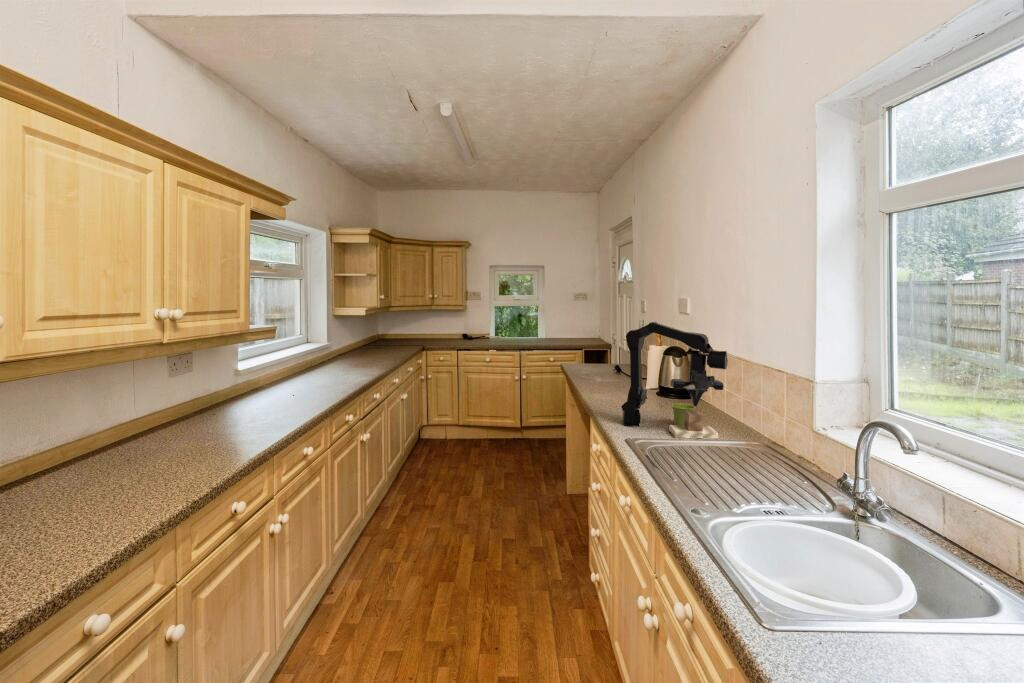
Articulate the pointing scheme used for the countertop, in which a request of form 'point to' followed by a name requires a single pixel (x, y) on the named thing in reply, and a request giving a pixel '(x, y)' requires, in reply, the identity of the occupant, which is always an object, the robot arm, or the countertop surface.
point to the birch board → (692, 432)
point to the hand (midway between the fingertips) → (695, 406)
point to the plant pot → (681, 412)
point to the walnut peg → (693, 421)
